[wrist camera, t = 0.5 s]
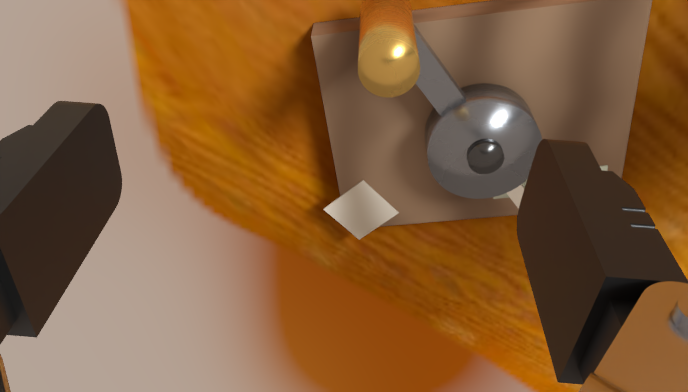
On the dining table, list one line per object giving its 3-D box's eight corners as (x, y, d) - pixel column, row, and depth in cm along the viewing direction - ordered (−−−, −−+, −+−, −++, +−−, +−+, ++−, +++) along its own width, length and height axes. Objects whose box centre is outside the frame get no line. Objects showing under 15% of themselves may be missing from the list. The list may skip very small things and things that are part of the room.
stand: (639, -19, 31) (661, -1, 29) (605, 199, 40) (620, 227, 38) (292, 26, 34) (285, 46, 31) (331, 223, 42) (329, 251, 40)
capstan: (581, 186, 37) (624, 273, 30) (492, 232, 39) (515, 320, 33) (422, -54, 29) (436, -3, 22) (322, 23, 31) (310, 88, 25)
